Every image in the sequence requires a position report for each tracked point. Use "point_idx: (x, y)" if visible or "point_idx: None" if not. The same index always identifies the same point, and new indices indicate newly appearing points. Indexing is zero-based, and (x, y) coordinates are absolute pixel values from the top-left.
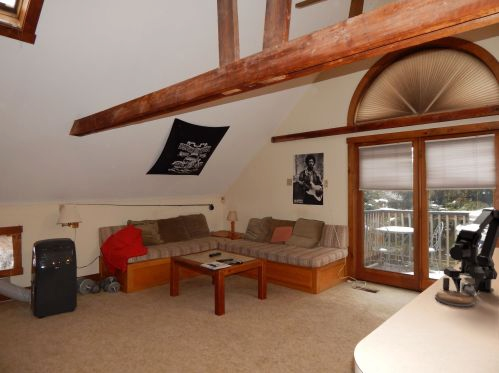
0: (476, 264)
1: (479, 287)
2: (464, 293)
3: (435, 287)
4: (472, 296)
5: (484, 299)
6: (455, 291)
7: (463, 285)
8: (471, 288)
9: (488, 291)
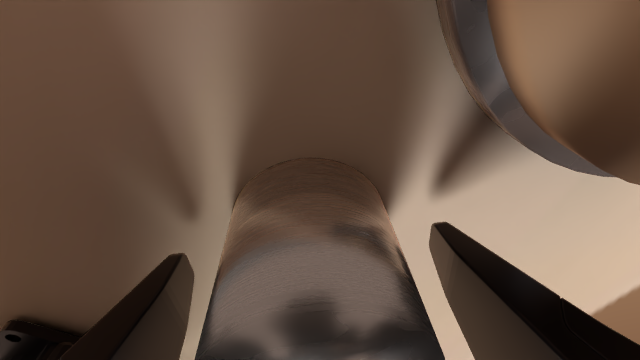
0: None
1: (107, 326)
2: (544, 41)
3: None
4: (275, 165)
5: (118, 70)
6: (634, 139)
7: (428, 322)
8: (297, 252)
9: (20, 333)
